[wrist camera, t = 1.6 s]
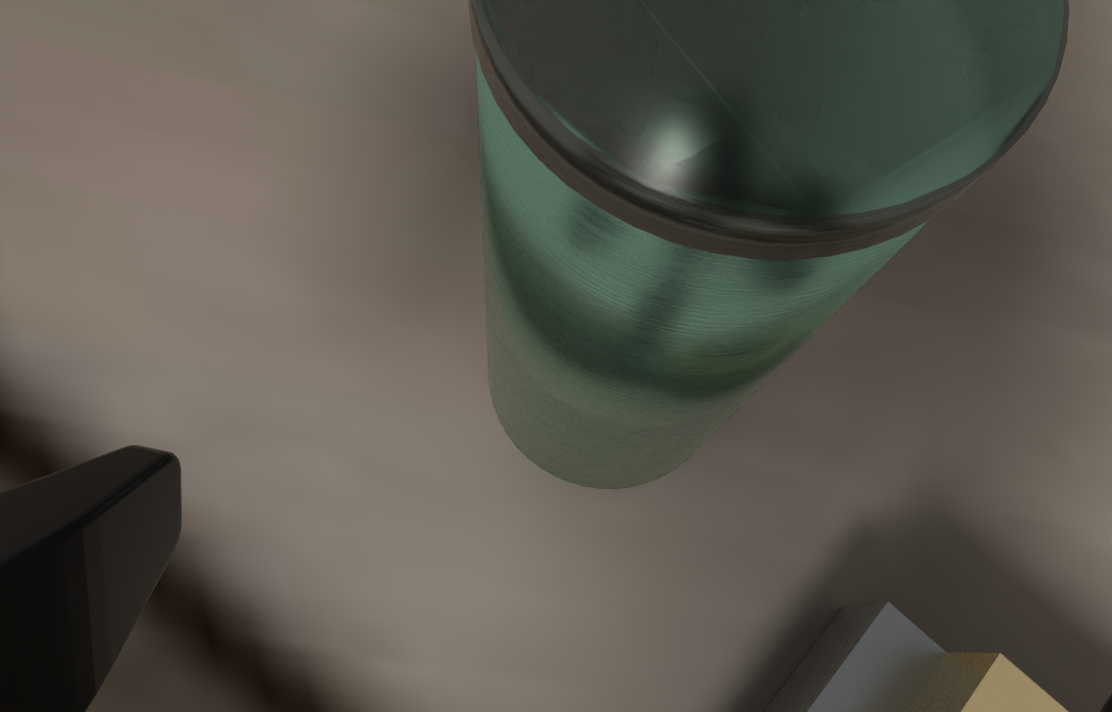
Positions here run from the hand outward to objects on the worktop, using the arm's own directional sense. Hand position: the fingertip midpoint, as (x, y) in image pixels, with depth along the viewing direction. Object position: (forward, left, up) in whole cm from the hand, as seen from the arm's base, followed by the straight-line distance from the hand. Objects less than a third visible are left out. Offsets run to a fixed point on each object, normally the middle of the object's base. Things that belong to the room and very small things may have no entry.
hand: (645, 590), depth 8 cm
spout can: (+7, +4, -12) cm, 15 cm away
